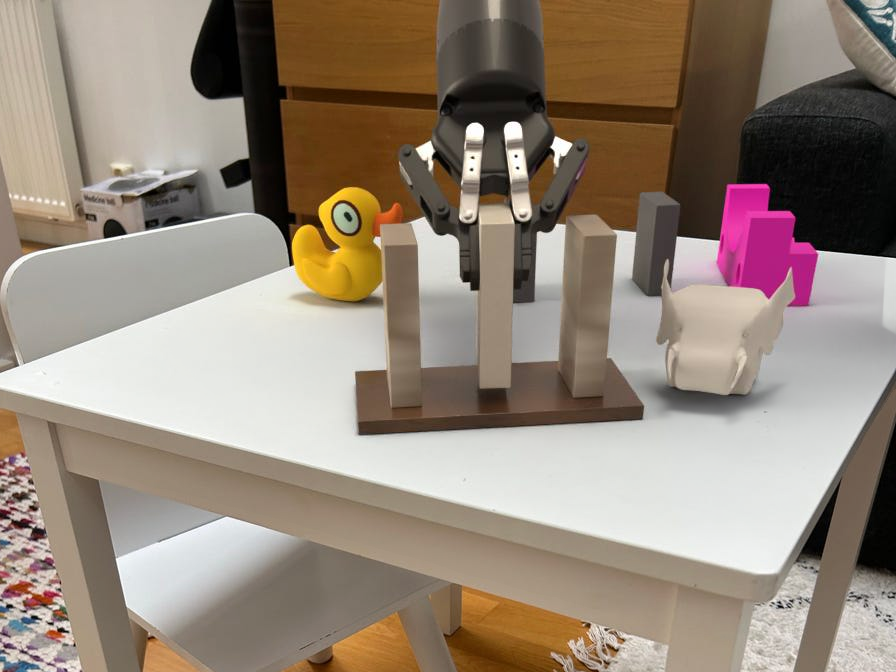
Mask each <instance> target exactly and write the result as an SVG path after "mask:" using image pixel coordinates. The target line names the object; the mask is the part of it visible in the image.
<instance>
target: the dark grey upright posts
mask: <svg viewBox="0 0 896 672" xmlns="http://www.w3.org/2000/svg"><path fill="white" fill-rule="evenodd" d="M638 198H639V199H638V208H637V209H638V210H637V219H636V220H637V221H636V222H637V223H636V230H635V243H634V253H633V264H632V275H631V280H633V282H634V283H635V284H636V285H637V286H638V287H639V288H640V289H641V290H642V291H643V292H644V294H646V295H647V296H650V297H651V296H662V288H661V286H662V283H663V277H664V265H665V262H666V260H667V259H668V260H669V270H668V274H667V281H668V284H669V286H670V289H671V290H672V281H673V273H674V264H675V257H676V247H677V238H678V231H679V222H680V214H681V204H680V203H679V202H678V201H676V200H675V199H673V198H672V197H671V196H669V195H668V194H667V193H665V192H664V191H648V192H647V191H645V192H643V191H642V192H640V193H639V197H638ZM503 203H506V198H504V199H503ZM532 205H533V203H532V202H531V206H532ZM531 239H532V268H531V274H530V277H529V280H528V281H522V284H521V289H520V290H513V303H530V302H535V297H536V296H535V295H536V271H537V270H536V269H537V244H538V242H537V241H538V232H537V233H535V234H534V235H532V237H531Z"/></svg>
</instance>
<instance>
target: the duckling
mask: <svg viewBox="0 0 896 672" xmlns="http://www.w3.org/2000/svg"><path fill="white" fill-rule="evenodd" d="M403 215H404V212H403V208H402V205H401V204H400V203H399V202H395V203H394V204H393V206H392V207H391V209H390V210H388V211H385V212H382V211H381V205H380V203H379V200H378V199H377V198H376V196H374V194H372V193H371V192H370V191H368V190H366V189H364V188H360V187H357V186H351V187H344V188H342V189H340V190H338V191H337V192H336V193H334V194H333V195H332V196H330V197H329V198H328V199H327V200H325V201H323V202H322V203H321V204H320V205H319V207H318V218H319V220H320V222H321V223H322V226H323V228H324V231H325V232H326V234H327V236H328V237H329V239H330V240H331V241H332V242H334V243H335V244H336V245H337V246H338V247H339V248H338V249H337V250H336V251H332V250H329V249H327V247H326V246H325V244H324V241H323V239H322V237H321V234H320V232H319V230H318V229H317V228H316V227H315V226H314V225H313V224H306V225H302V226H301V227H299V228H298V230H297V231H296V232H295V234H294V237H293V239H292V242H291V253H292V260H293V265H294V268H295V272H296V275H297V277H298V279H299V280H300V281H301V282H302V283H303V285H304V286H305V287H307V288H308V289H310V290H311V291H313V292H315V293H316V294H318V295H320V296H323V297H324V298H328V299H331V300H338V301H346V302H358V301H361V300H364V299H366V298H368V297H369V296H370V295H371V294H373V293H374V291H376V289H378V288H379V286H381V284H383V280H382V258H381V247H380V246H379V245H378V244H377V243H375V242H374V241H375V239H376V238H381V237H380V225H381V224H402V221H403V220H402V219H403Z"/></svg>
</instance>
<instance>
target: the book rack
mask: <svg viewBox="0 0 896 672" xmlns="http://www.w3.org/2000/svg"><path fill="white" fill-rule="evenodd" d="M564 228H565V229H564V230H565V231H564V247H563V266H562V267H563V268H562V284H561V285H562V286H561V300H560V301H561V303H560V321H559V338H558V339H559V340H558V358H557V360H545V361H543V360H542V361H526V362H525V361H524V362H523V361H522V362H511V387H510V388H483V389H481V388H480V387H479V377H478V367H477V364H470V365H469V364H467V365H451V366H450V365H449V366H448V365H447V366H432V367H431V366H430V367H429V366H428V367H422V357H421V356H422V354H421V353H422V352H421V350H422V349H421V317H420V315H421V313H420V280H419V279H420V278H419V276H420V275H419V243H418V241H417V237H416V234H415V231H414V227H413V224H412V223H411V222H406V223H405V222H403V223H402V222H401V223H400V224H381V225H380V237H379V238H380V249H381V258H382V280H383V281H382V298H383V299H382V301H383V319H384V320H383V321H384V341H385V342H384V343H385V362H386V363H385V364H386V369H374V370H373V369H372V370H371V369H370V370H356V371H354V380H355V381H354V382H355V383H354V384H355V399H356V411H357V412H356V415H357V431H358V435H373V434H374V435H375V434H392V433H393V434H394V433H409V432H410V433H413V432H427V431H429V432H430V431H431V432H432V431H446V430H447V431H448V430H466V429H483V428H485V429H486V428H499V427H502V428H503V427H518V426H519V427H520V426H521V427H522V426H537V425H538V426H540V425H555V424H573V423H575V424H577V423H590V422H591V423H592V422H609V421H610V422H611V421H627V420H628V421H629V420H642V419H644V413H645V412H644V411H645V405H644V404H643V403H644V402H642V401H641V399H640V397H639V396H638V394H637V393H636V391H635V390H634V389H633V387H632V386H631V385H630V383H629V381H628V380H627V379H626V377H625V375H623V373H622V372H621V369H620V368H619V367H618V366H617V364H616V363H615V361H614V360H613V359H612V357H608V348H609V338H610V336H609V335H610V326H611V325H610V324H611V312H612V302H613V301H612V299H613V288H614V275H615V263H616V254H617V253H616V251H617V239H618V234H617V233H616V232H615V231H614V230H613V229H612V228H611V227H610V226H609V225H608V223H606V222H605V221H604V220H603V219H602V218H601V217H600V216H599V215H598V214H579V215H577V214H576V215H567V216H565V227H564Z"/></svg>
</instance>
